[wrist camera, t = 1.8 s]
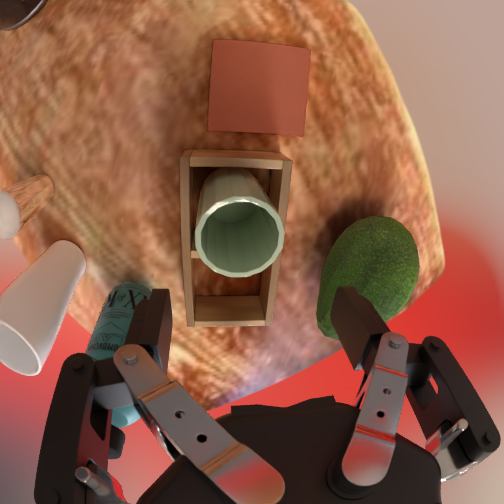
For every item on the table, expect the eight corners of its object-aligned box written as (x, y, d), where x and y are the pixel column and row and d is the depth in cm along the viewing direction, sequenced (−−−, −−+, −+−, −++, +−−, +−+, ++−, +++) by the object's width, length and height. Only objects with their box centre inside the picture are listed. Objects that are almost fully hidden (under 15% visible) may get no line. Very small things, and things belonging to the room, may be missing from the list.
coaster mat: (207, 130, 25) (207, 131, 25) (213, 40, 21) (213, 39, 20) (301, 136, 26) (303, 136, 26) (309, 50, 22) (311, 49, 22)
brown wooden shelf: (189, 301, 34) (187, 327, 30) (185, 149, 25) (179, 157, 22) (265, 300, 35) (271, 325, 31) (280, 152, 27) (292, 160, 23)
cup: (200, 223, 29) (196, 277, 20) (201, 165, 26) (194, 195, 18) (258, 224, 30) (278, 276, 21) (263, 167, 27) (288, 197, 19)
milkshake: (40, 153, 23) (-18, 179, 14) (66, 191, 25) (15, 229, 17) (18, 180, 23) (-37, 213, 15) (43, 215, 26) (-5, 258, 17)
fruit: (343, 316, 38) (372, 370, 29) (282, 299, 35) (303, 360, 26) (405, 223, 32) (455, 263, 24) (346, 189, 29) (396, 226, 21)
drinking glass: (45, 226, 27) (-29, 305, 13) (95, 240, 28) (34, 335, 15) (46, 274, 29) (-10, 360, 16) (92, 289, 31) (47, 386, 18)
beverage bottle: (171, 309, 34) (156, 467, 16) (126, 321, 34) (93, 466, 17) (147, 265, 31) (102, 432, 13) (100, 281, 31) (40, 430, 13)
